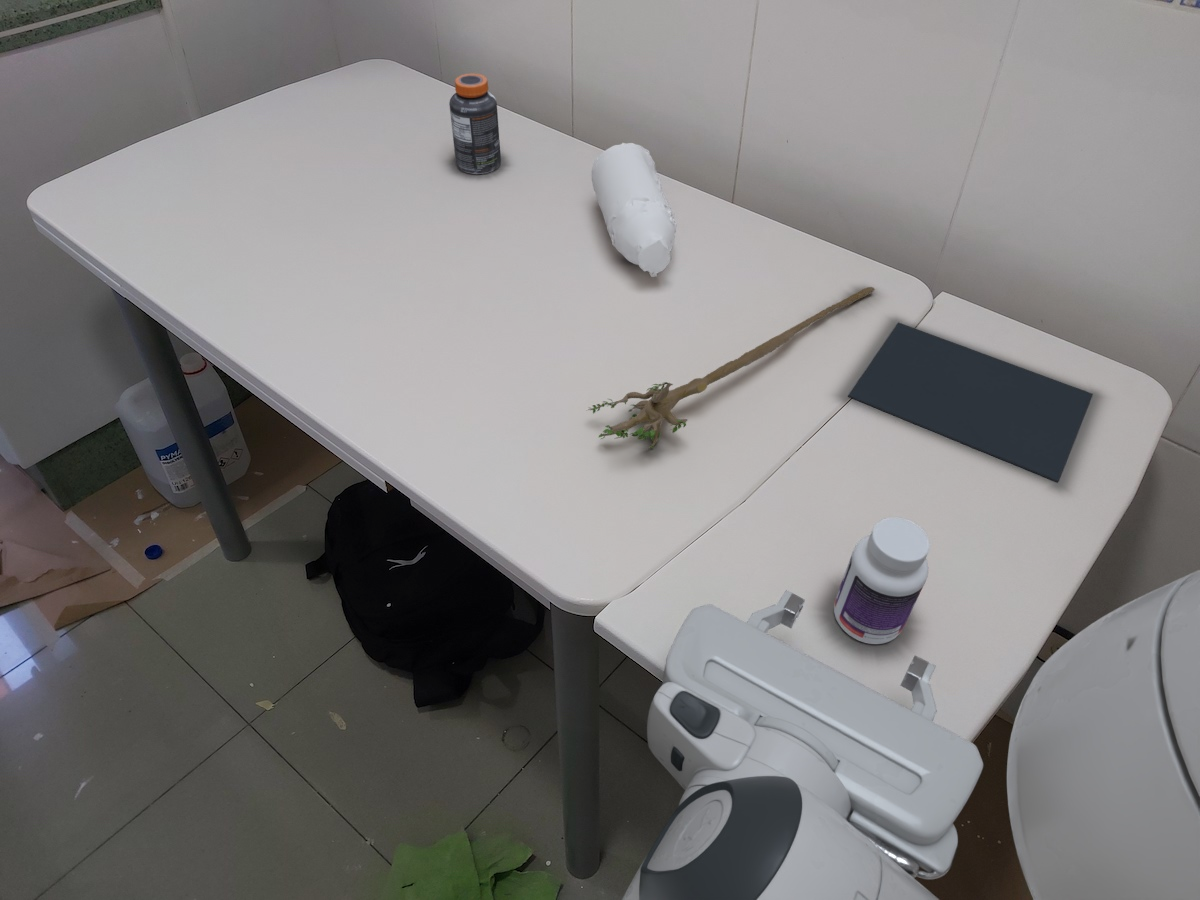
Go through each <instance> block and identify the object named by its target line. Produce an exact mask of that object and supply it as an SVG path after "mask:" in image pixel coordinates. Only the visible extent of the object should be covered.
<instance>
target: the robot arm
mask: <svg viewBox="0 0 1200 900" xmlns="http://www.w3.org/2000/svg"><path fill="white" fill-rule="evenodd" d="M805 602H806V599H805V598H803V597H801V596H799V595H797V594H795V593H793V592H791V591H790V590H788V589H785V591H784V592H783V594H782V596H781V597H780V599H779V601H778V602H777V604H772V605H770V606H767V607H765V608H762V609H760V610H757V611H755V612H752V613H751V615H750V616H749V618H748V619H747V621H745V620H742V619H740V618H738V617H737V616H735V615H733V614H731V613H729V612H727V611H725V610H723V609H722V608H720V607H718V606H716V605H714V604H711V603H707V604H706V603H705V604H702V605H699V606H696V607H694V608H692V609H691V610H690V612H689V613H688V615H687V616H686V618H685V619H684V621H683V622H682V624H681V625H680V628H679V630H678V632H677V633H676V635H675V637H674V639H673V641H672V644H671V645H670V648H669V650H668V653H667V656H666V659H665V664H664V670H663V675H662V684H661V686H660V687H659V688H658V689H657V690H656V693H655V694H654V697H653V699H652V700H651V703H650V706H649V710H648V715H647V722H646V741H647V746H648V749H649V750H650V752H651V754H653V756H654V757H655V758H656V759H657V761H659V763H660V764H661V765H662V766H663V767H664V768H665V769H666V771H667V772H668V773H669V774H670V775H671V776H672V778H673V779H674V780H675V781H676V782H677V783H678V785H679V786H680V787H681V788H682V790H684V792H683V793H682V795H681V798H680V800H679V802H678V806H677V807H676V809H675V810H674V812H673V813H672V814H671V815H670V817H669V818H668V820H667V822H666V823H665V824H664V827H663V828H662V829H661V831H660V833H659V834H658V836H657V838H656V839H655V841H654V843H653V845H652V846H651V847H650V849H649V851H648V853H647V854H646V856H645V857H644V859H643V861H642V862H641V864H640V866H639V868H638V869H637V871H636V872H635V875H634V876H633V877H632V880H631V881H630V883H629V885H628V887H627V889H626V890H625V893H624V894H623V896H622V898H621V900H940V899H939V898H938V897H937V896H935V895H934V894H933V893H932V892H931V891H930V890H929V889H927V887H925V886H924V885H923V884H921V882H919V881H918V880H917V879H915V878H920V879H923V880H935V879H940V878H942V877H944V876H945V875H946V874H947V873H948V872H949V871H950V869H951V867H952V865H953V861H954V858H955V856H956V853H957V850H958V847H959V835H958V832H957V831H958V830H957V828H956V826H955V824H954V822H955V821H956V820H957V818H958V817H959V815H960V813H961V812H962V810H963V809H964V807H965V806H966V804H967V803H968V800H969V799H970V797H971V795H972V793H973V791H974V790H975V787H976V785H977V783H978V781H979V779H980V777H981V774H982V772H983V769H984V762H983V759H982V757H981V754H980V752H979V749H978V746H977V745H976V744H974V743H973V742H972V741H970V740H968V739H967V738H965V737H962V736H961V735H959V734H957V733H955V732H954V731H951V730H949V729H947V728H945V727H943V726H942V725H940V724H938V723H936V722H934V719H935V717H936V714H937V712H938V709H937V705H936V702H935V697H934V694H933V690H932V686H931V684H930V681H931V679H932V677H933V674H934V673H935V669H936V665H935V664H934V663H931V662H929V660H926V659H924V658H922V657H920V656H918V655H914V656H913V658H912V660H911V662H910V664H909V665H908V667H907V670H906V672H905V675H904V676H903V678H902V681H901V683H900V687H902V688H904V689H906V690H908V691H910V692H911V698H912V703H913V705H912V707H911V708H908V707H907V706H904V705H902V704H901V703H899V702H896V701H895V700H892V699H891V698H889V697H887V696H886V695H884V694H881V693H879V692H877V690H875V689H872V688H870V687H868V686H866V685H865V684H862V683H861V682H859V681H857V680H855V679H853V678H852V677H850V676H848V675H846V674H844V673H842V672H841V671H839V670H836V669H834V668H833V667H830V666H829V665H827V664H825V663H824V662H821V661H819V660H818V659H816V658H814V657H812V656H810V655H809V654H807V653H804V652H802V651H801V650H798V649H797V648H795V647H793V646H791V645H789V644H787V643H785V642H784V641H783V640H780V639H779V638H776V637H774V636H773V635H771V634H769V633H768V631H769V630H771V629H774V628H775V627H778V626H779V625H783V626H786V627H787V628H789V629H792V628H793V626H794V625H795V623H796V621H797V619H799V616H800V615H801V613H802V611H803V608H804V604H805ZM1007 752H1008V753H1007V761H1006V763H1007V765H1006V794H1007V795H1006V796H1007V808H1008V814H1009V815H1008V816H1009V821H1010V827H1011V834H1012V839H1013V843H1014V847H1015V850H1016V855H1017V859H1018V860H1019V861H1018V862H1019V866H1020V869H1021V871H1022V875H1023V877H1024V879H1025V882H1026V885H1027V887H1028V890H1029V892H1030V895H1031V897H1032V900H1200V569H1197V570H1196V571H1193V572H1191V573H1189V574H1186V575H1184V576H1182V577H1180V578H1177V579H1175V580H1174V581H1171V582H1169V583H1167V584H1164V585H1162V586H1160V587H1158V588H1156V589H1153V590H1152V591H1150V592H1147V593H1144V594H1143V595H1141V596H1139V597H1137V598H1135V599H1132V600H1131V601H1128V602H1127V603H1125V604H1122V605H1121V606H1119V607H1118V608H1115V609H1114V610H1112V611H1110V612H1109V613H1107V614H1104V615H1103V616H1102V617H1100V618H1099V619H1097V620H1096V621H1094V622H1092V623H1091V624H1090V625H1088V626H1086V627H1085V628H1084V629H1082V630H1081V631H1080V632H1078V633H1077V634H1075V635H1074V636H1073V637H1071V639H1069V640H1067V642H1065V643H1064V644H1063V645H1062V646H1061V647H1059V648H1058V649H1057V650H1056V651H1055V652H1053V654H1052V655H1051V656H1050V657H1048V659H1046V661H1045V662H1044V663H1043V664H1042V665H1041V666H1040V667H1039V669H1038V670H1037V672H1036V674H1035V675H1034V677H1033V678H1032V681H1031V682H1030V684H1029V686H1028V688H1027V690H1026V692H1025V694H1024V696H1023V698H1022V700H1021V701H1020V704H1019V707H1018V710H1017V713H1016V715H1015V718H1014V722H1013V725H1012V730H1011V733H1010V738H1009V744H1008V751H1007ZM920 868H921V869H923V870H921V869H920Z"/></svg>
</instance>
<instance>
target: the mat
mask: <svg viewBox="0 0 1200 900" xmlns="http://www.w3.org/2000/svg"><path fill="white" fill-rule="evenodd" d="M1093 394H1094V393H1091V392H1089V391H1087V390H1083V389H1080V388H1078V387H1076V386H1073V385H1070V384H1067V383H1065V382H1063V381H1060V380H1056V379H1054V378H1052V377H1049V376H1045V375H1042V374H1040V373H1038V372H1036V371H1035V372H1034V371H1032V370H1030V369H1027V368H1023V367H1020V366H1019V365H1015V364H1013V363H1010V362H1007V361H1004V360H1002V359H999V358H996V357H994V356H991V355H988V354H986V353H983V352H981V351H977V350H975V349H972V348H969V347H966V346H964V345H962V344H959V343H956V342H953V341H950V340H948V339H945V338H942V337H939V336H937V335H934V334H931V333H929V332H926V331H924V330H920V329H918V328H915V327H912V326H909V325H907V324H904V323H902V322H899V321H898V322H897V323H896V325H895V326H894V328H893V329H892V330H891V332H890V333H889V335H888V337H887V338H886V339H885V341H884V342H883V344H882V345H881V347H880V349H879V350H878V351H877V352H876V354H875V356H874V357H873V358H872V360H871V361H870V363H869V364H868V366H866V368H865V370H864V371H863V373H862V374H861V376H860V377H859V379H858V380H857V382H856V383H855V385H854V386H853V388H852V389H851V391H850V392H849V393H848V395H847V397H848V398H851V399H852V400H855V401H858V402H860V403H863V404H865V405H867V406H871V407H873V408H875V409H877V410H880V411H882V412H885V413H887V414H888V415H889V414H890V415H892V416H895V417H897V418H899V419H902V420H904V421H907V422H909V423H911V424H914V425H917V426H919V427H921V428H924V429H926V430H929V431H931V432H933V433H936V434H938V435H941V436H943V437H945V438H948V439H950V440H953V441H956V442H958V443H961V444H963V445H965V446H968V447H970V448H973V449H975V450H976V451H977V450H978V451H979V452H982V453H984V454H987V455H990V456H993V458H994V457H995V458H997V459H1000V460H1002V461H1004V462H1007V463H1009V464H1012V465H1014V466H1017V467H1019V468H1022V469H1024V470H1026V471H1028V472H1031V473H1034V474H1036V475H1038V476H1040V477H1043V478H1046V479H1048V480H1051V481H1052V482H1056V483H1059V482H1060V479H1061V477H1062V474H1063V472H1064V470H1065V466H1066V464H1067V461H1068V460H1069V457H1070V453H1071V451H1072V448H1073V446H1074V445H1075V441H1076V438H1077V436H1078V433H1079V431H1080V428H1081V426H1082V423H1083V420H1084V418H1085V415H1086V413H1087V410H1088V408H1089V405H1090V403H1091V400H1092V398H1093V396H1094V395H1093Z"/></svg>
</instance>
